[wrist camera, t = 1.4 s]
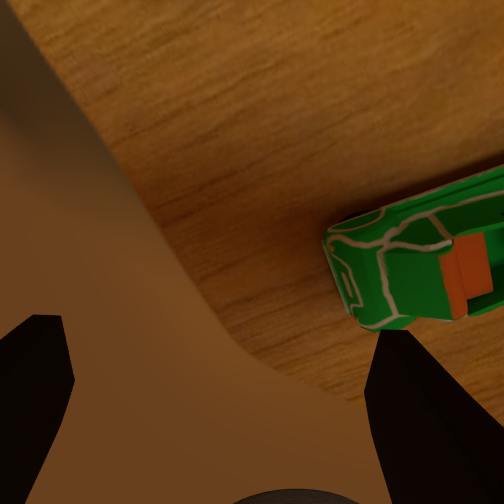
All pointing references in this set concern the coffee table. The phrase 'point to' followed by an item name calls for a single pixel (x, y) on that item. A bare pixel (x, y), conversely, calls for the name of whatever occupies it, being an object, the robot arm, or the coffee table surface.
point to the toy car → (423, 255)
